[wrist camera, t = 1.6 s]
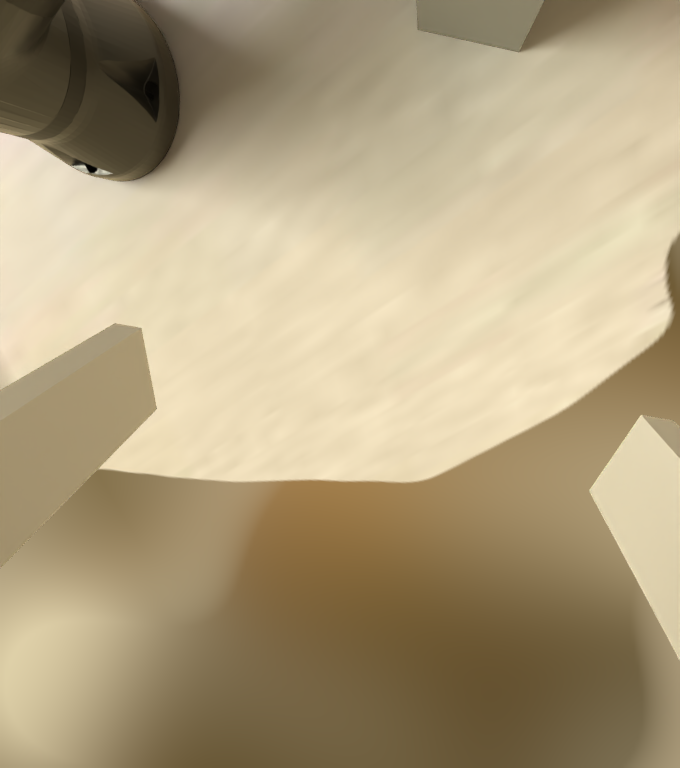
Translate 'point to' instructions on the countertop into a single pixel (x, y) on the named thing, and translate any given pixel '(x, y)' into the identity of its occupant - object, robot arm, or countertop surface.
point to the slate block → (480, 20)
